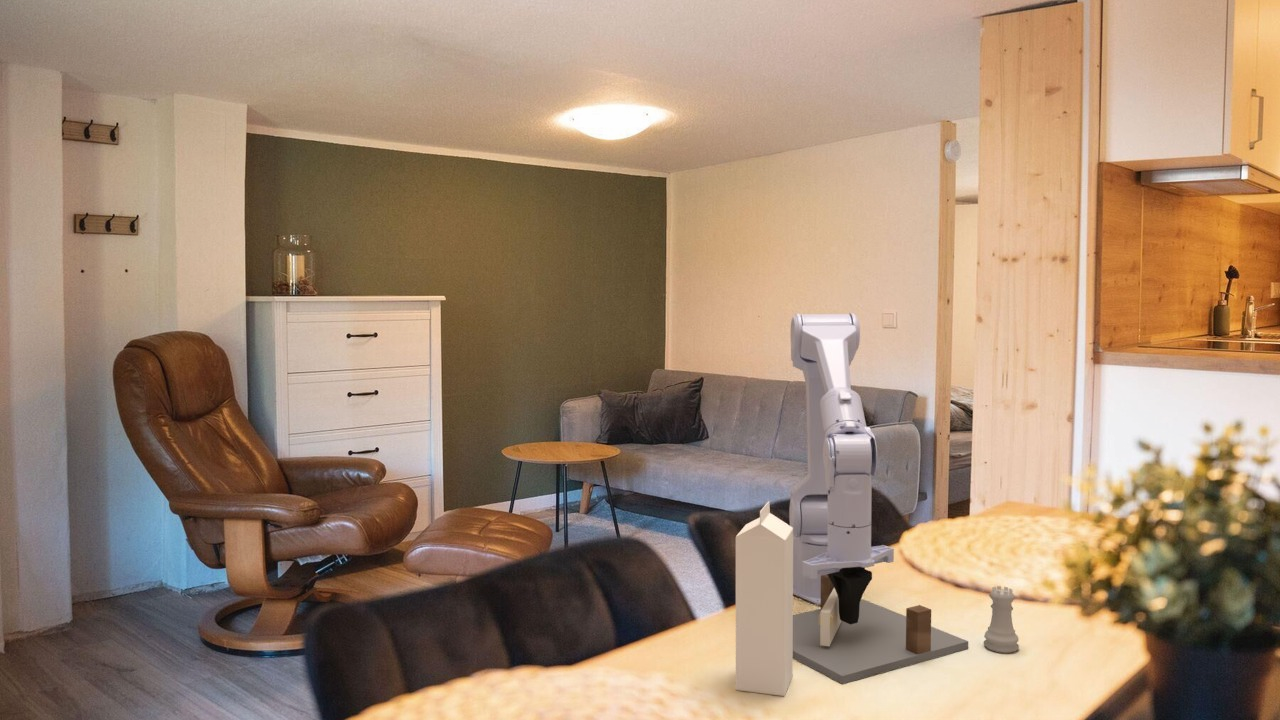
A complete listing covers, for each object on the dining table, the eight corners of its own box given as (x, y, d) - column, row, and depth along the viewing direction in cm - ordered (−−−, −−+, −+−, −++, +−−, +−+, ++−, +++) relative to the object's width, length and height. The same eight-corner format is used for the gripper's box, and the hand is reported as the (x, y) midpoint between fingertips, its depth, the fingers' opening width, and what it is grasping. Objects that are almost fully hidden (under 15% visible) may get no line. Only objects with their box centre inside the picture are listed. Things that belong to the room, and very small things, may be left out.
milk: (735, 691, 114) (733, 510, 112) (745, 671, 120) (744, 498, 118) (786, 697, 112) (785, 513, 111) (794, 676, 118) (793, 501, 116)
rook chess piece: (1022, 655, 124) (1023, 595, 124) (986, 653, 125) (987, 593, 125) (1015, 642, 129) (1017, 584, 128) (980, 640, 130) (982, 583, 129)
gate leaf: (834, 613, 137) (834, 581, 137) (847, 615, 136) (847, 582, 136) (817, 646, 125) (818, 610, 124) (831, 647, 124) (831, 611, 124)
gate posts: (820, 611, 138) (820, 574, 138) (833, 608, 140) (833, 572, 139) (917, 654, 122) (917, 612, 122) (930, 650, 123) (931, 609, 123)
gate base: (745, 632, 133) (744, 625, 133) (863, 605, 144) (863, 599, 144) (842, 683, 116) (842, 676, 116) (968, 648, 127) (968, 641, 127)
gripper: (827, 536, 120) (827, 641, 121) (910, 521, 127) (909, 620, 128) (792, 524, 126) (791, 624, 127) (873, 510, 133) (872, 605, 134)
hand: (848, 621), depth 128 cm, fingers closed, pressing on gate leaf
